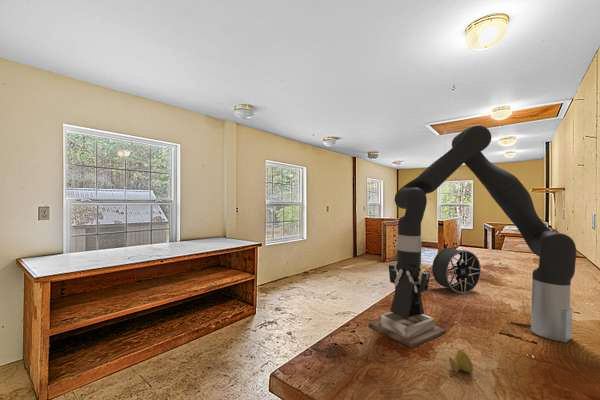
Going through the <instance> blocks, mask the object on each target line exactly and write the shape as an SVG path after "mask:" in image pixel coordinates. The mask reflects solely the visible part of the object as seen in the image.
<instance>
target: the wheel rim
mask: <svg viewBox="0 0 600 400" xmlns="http://www.w3.org/2000/svg"><path fill="white" fill-rule="evenodd" d="M457 255H459V257H458V259H457V258H456V257H455V256H457ZM453 259H454V260H456V261H457V262H456V263H455V264H454V262H453ZM450 264H451V266H452V267H450V268H449V265H450ZM431 267H432V269H431V270H432V271H431V272H432V276H433V279H434V280H435V282H436V283H437V284H439V286H441V287H444V288H449V289H450V290H451V291H454V292H456V293H459V294H468V293H470V292H471V291H473V290H474V289H475V287H476V286H477V285H478V283H479V281H480V278H481V274H482V266H481V262H480V260H479V258H478V256H476V254H474V253H473V252H472V251H469V250H466V249H465V250H464V249H461V250H458V249H457V248H455V247H445V248H443V249H441V250H439V251H438V253H437V254H436V255H435V257H434V259H433V262H432V265H431ZM452 271H453V273H449V272H452ZM449 276H451V279H449ZM454 279H455V280H456V282H454V283H453V281H454ZM449 280H450V281H449Z"/></svg>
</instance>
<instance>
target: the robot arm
mask: <svg viewBox="0 0 600 400" xmlns="http://www.w3.org/2000/svg"><path fill="white" fill-rule="evenodd" d="M491 142H492V134H491V131H490V130H489V128H488V127H486V126H484V125H481V124H474V125H470V126H468V127H467V128H465V129H464V130H462V131H461V132H459V133H458V134H456V135H455V136H454V138H452V141H451V148H450V149H449V150H448V151H447V152H445V153H444V154H443V155H441V156H440V157H439V158H438V159H436V160H435V161H434V162H432V163H431V164H430V165H429V166H428V167H427V168H425V170H423V171H422V172H421V173H420V174H418V176H417V177H416V178H413V179H412V180H410V181H409V182H408V183H406V184H404V185H403V186H402V187H400V188H399V189H398V190H397V191H396V193H395V196H394V204H395V205H396V206H397V207H398V208H400V209H403V210H405V213H404V215H403V216H401V217H399V218H398V220H397V221H398V222H397V237H396V256H395V257H396V258H395V261H396V264H395V263H393V264H389V265H388V273H389V275H388V276H389V283H391V284H393V285H394V292H395V291H396V287H397V284H398V283H399V280H400V278H401V277H405V278H409V280H410V282H413V286H414V291H415V292H414V304H419V303H420V302H421V301H422V293H425V292H428V290H429V284H430V278H431V277H430V276H431V274H430V272H425V271H422V269H421V264H422V221H423V218H424V215H425V213H426V212H425V211H426V208H427V203H428V202H427V201H428V199H427V194H431V193H434V191H436V190H437V189H438V188H439V187H440V186H441V185H442V184H444V182H446V180H448V179H449V178H450V177H451V176H452V175H453V174H454V173H455V172H456V171H457V170H458V169H459V168H460V167H461V166H462V165H463V164H464V165H465V166H466V167H467V168H468V169H469V170H470V171H471V172H472V173H473V174H474V176H475V177H476V178H477V179H478V180H479V182H480V183H481V184H482V185H483V187H484V188H485V189H486V190H487V192H488V193H489V195H490V197H491V198H492V199H493V200H494V202H495V203H496V204H497V205H498V206H499V207H500V209H501V210H502V211H503V213H504V214H505V215H506V216H507V218H509V220H510V221H511V222H512V223H513V225H514V226H515V227H516V228H517V230H518V232H519V234H520V235H521V237H522V238H523V240H524V241H525V243H526V245H527V247H528V248H529V250H530V251H531V252H532V253H533V254H534V255H535V256H537V257H539V259H538V260H539V261H538V267H537V268H536V269H533V270H532V273H531V274H532V275H531V276H532V278H531V283H532V284H531V285H532V286H531V317H530V331H531V333H534V334H535V335H537V336H539V337H542V338H545V339H549V340H552V341H557V342H561V343H565V344H566V343H567V342H568V341H570V340H571V339H572V338H573V337H572V335H573V331H572V330H573V308H572V307H571V285H572V279H573V277H574V276H575V272H576V261H577V245H576V244H575V241H574V240H573V238H572V237H571V236H569V235H567V234H565V233H561V232H557V231H552V230H551V229H550V228H549V227H548V226H547V225H546V224H545V223H544V221H543V220H542V219H541V218H540V217H539V215H538V214H537V211H536V209H535V206H534V202H533V198H532V196H531V194H530V193H529V191H528V190H527V188H526V187H525V186H524V184H523V183H522V182H521V181H520V179H518V177H517V176H515V175H514V174H512V173H511V172H509V171H508V170H505V169H504V168H502V167H499V166H497V165H495V164H493V162H491V161H489V159H488V158H487V157H486V156H485V155H484V153H483V152H482V151H484V150H485V149H487V147H489V146H490V144H491ZM414 278H415V280H416V278H417V279H418V280H419V281H416V282H415V281H414ZM420 279H421V280H420ZM417 285H418V287H417Z"/></svg>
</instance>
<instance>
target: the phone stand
mask: <svg viewBox="0 0 600 400" xmlns="http://www.w3.org/2000/svg"><path fill="white" fill-rule="evenodd" d="M414 281H415V282H416V281H419V280H418V279H417V278H416V280H415V278H414ZM417 287H418V285H417ZM414 292H415V291H414V286H413V282H410V280H409V278H405V277H401V278H400V280H399V283H398V284H397V287H396V291H395V290H394V296H393V299H392V304H391V306H390V310H389V312H393V313H395V314H397V315H399V316H401V317H403V318H405V319H406V318H410V317H414V316H418V315H422V314H424V315H425V310H424V306H423V302H422V301H423V300H421V302H420V303H419V304H414Z"/></svg>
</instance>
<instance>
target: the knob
mask: <svg viewBox="0 0 600 400" xmlns="http://www.w3.org/2000/svg"><path fill="white" fill-rule="evenodd" d="M456 352H457V353H456V354H455V357H454V358H453V357H449V358H448V361H449V365H451V366H450V367H451V368H452V370H453V369H454V370H455V371H456V372H455V371H454V370H453V371H454V372H455V373H458V372H459V371H460V370H462V371H464V372H466V373H469V374H473V373H474V364H473V362H472V360H471V358H470V356H469V355H468V354H467V353H466V352H465V351H463V350H462V349H458V350H457V351H456Z"/></svg>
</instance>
